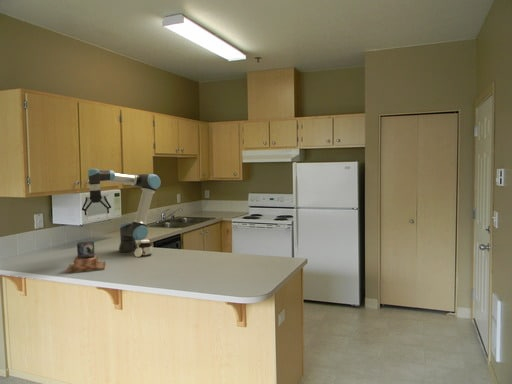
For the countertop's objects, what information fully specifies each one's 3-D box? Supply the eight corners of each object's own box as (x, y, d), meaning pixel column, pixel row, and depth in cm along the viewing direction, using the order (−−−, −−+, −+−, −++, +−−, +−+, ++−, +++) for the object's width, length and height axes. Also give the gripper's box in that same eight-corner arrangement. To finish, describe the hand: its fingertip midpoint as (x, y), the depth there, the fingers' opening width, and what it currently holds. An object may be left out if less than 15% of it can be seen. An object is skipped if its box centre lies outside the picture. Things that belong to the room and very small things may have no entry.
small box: (77, 259, 284) (76, 243, 283) (78, 256, 290) (77, 241, 289) (94, 257, 287) (93, 242, 286) (94, 255, 293) (94, 240, 292)
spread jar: (153, 254, 328) (153, 239, 327) (148, 257, 317) (147, 242, 316) (138, 254, 330) (138, 239, 329) (133, 257, 318) (132, 242, 317)
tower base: (105, 263, 302) (105, 253, 301) (104, 269, 283) (103, 258, 283) (69, 266, 294) (68, 255, 294) (65, 273, 276) (65, 262, 276)
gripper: (76, 191, 297) (78, 221, 299) (113, 189, 305) (115, 217, 307) (76, 190, 304) (79, 219, 306) (113, 188, 312) (115, 216, 314)
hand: (97, 218), depth 307 cm, fingers open, 13 cm apart
